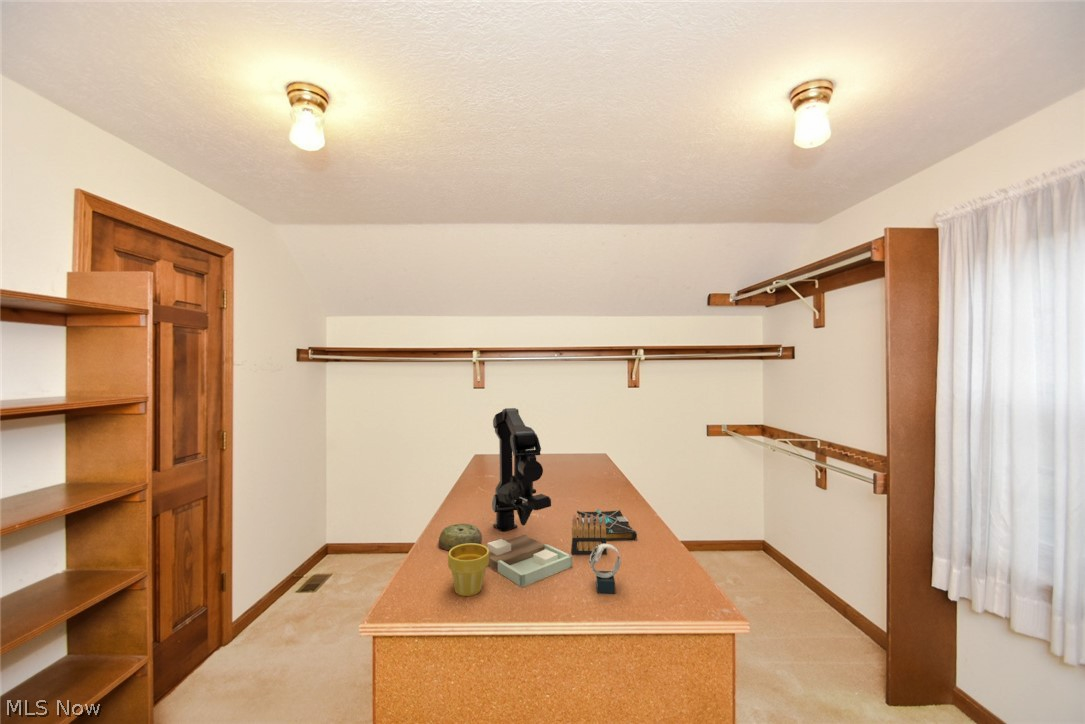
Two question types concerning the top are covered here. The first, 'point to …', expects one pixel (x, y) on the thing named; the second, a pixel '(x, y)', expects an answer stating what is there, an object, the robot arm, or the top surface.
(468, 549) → the plant pot
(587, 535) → the ammunition clip
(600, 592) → the watch
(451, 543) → the weight
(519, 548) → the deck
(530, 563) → the tray
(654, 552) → the top surface
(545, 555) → the tile
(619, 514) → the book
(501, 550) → the tile
